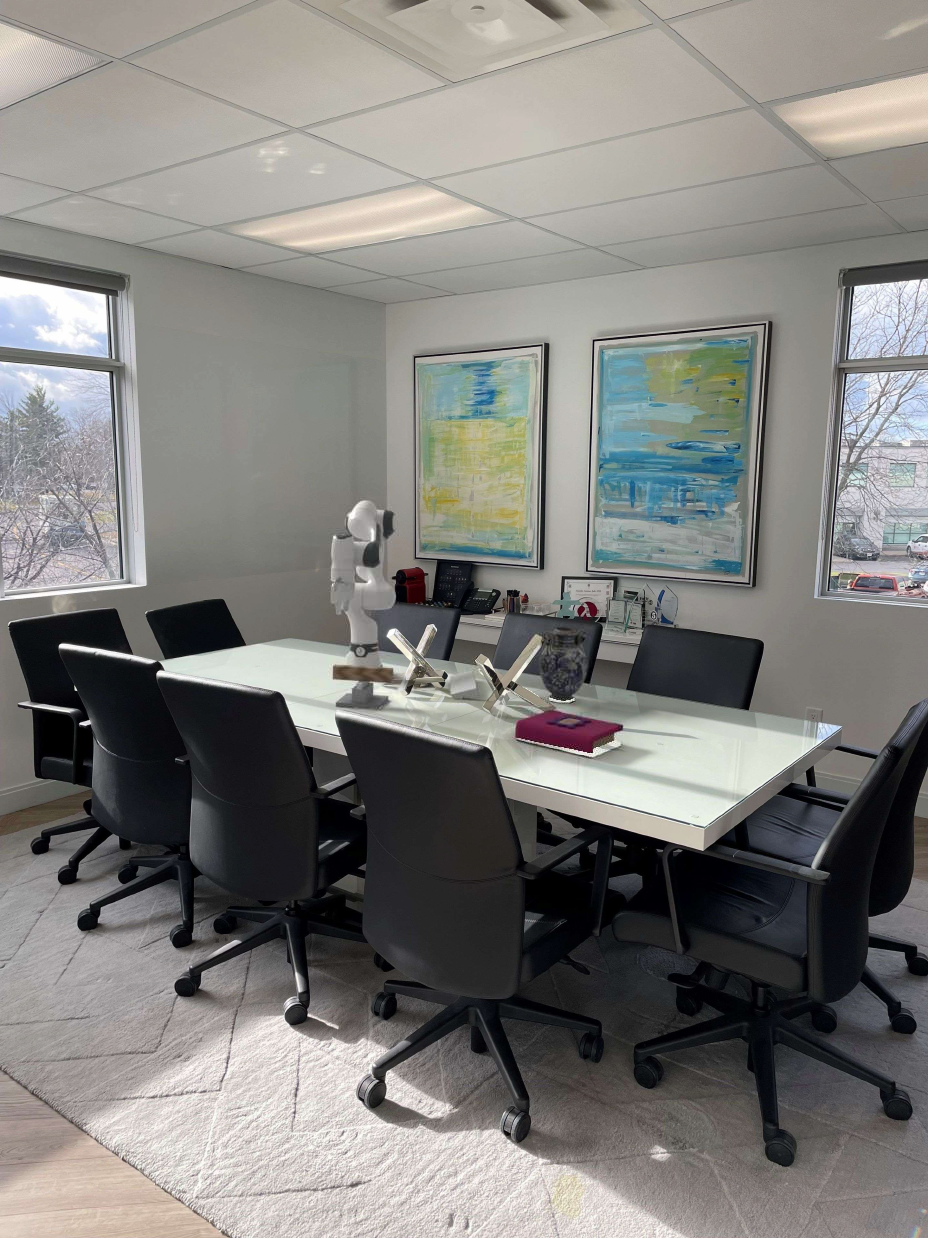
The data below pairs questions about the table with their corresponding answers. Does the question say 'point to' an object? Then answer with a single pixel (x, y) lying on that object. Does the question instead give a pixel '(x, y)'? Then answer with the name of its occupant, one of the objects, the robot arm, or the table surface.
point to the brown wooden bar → (363, 673)
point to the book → (567, 730)
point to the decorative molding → (464, 686)
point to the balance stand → (362, 697)
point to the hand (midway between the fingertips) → (342, 612)
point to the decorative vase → (563, 662)
